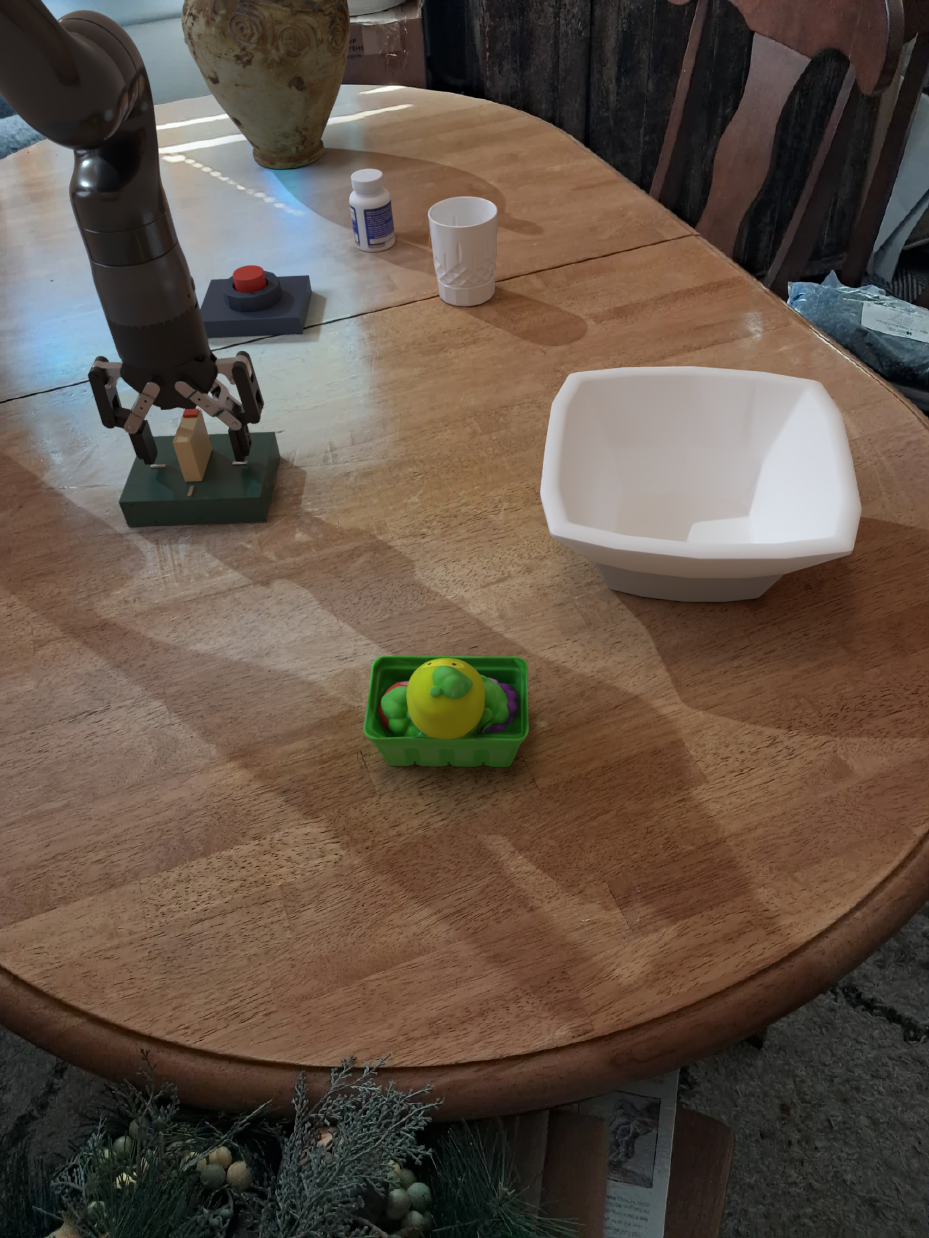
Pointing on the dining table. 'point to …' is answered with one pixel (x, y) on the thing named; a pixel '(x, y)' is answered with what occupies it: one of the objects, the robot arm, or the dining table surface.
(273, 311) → the button box
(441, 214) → the white cup
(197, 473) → the knob
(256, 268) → the button
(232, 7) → the vase
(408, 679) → the fruit basket
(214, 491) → the panel
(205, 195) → the dining table surface
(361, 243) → the pill bottle
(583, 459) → the bowl
